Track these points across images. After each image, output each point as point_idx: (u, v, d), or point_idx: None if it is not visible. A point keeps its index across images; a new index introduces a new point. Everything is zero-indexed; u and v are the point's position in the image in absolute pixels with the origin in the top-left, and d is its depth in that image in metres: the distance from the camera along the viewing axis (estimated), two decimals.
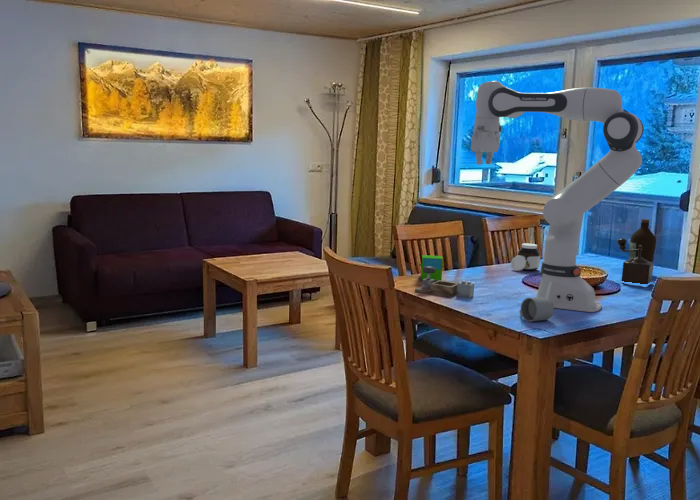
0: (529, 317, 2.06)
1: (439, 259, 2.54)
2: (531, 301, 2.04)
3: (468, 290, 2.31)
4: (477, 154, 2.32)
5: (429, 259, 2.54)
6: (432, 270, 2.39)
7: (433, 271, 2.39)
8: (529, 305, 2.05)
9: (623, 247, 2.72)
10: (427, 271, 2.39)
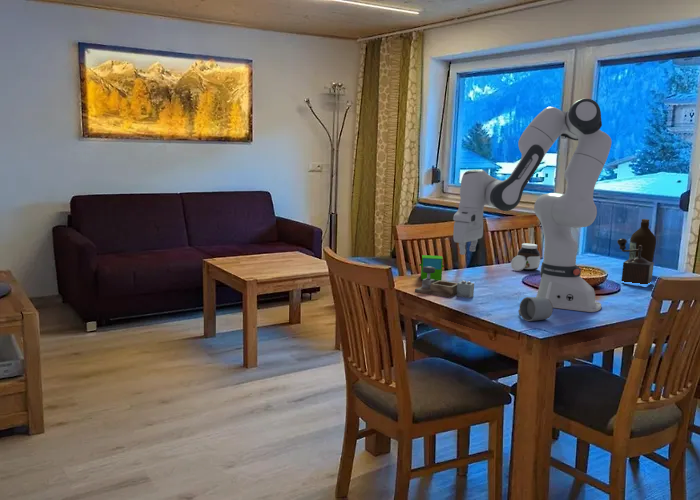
0: (528, 317, 2.07)
1: (439, 259, 2.54)
2: (530, 301, 2.05)
3: (468, 290, 2.31)
4: None
5: (429, 259, 2.54)
6: (432, 270, 2.39)
7: (433, 271, 2.39)
8: (528, 305, 2.06)
9: (623, 247, 2.72)
10: (427, 271, 2.39)
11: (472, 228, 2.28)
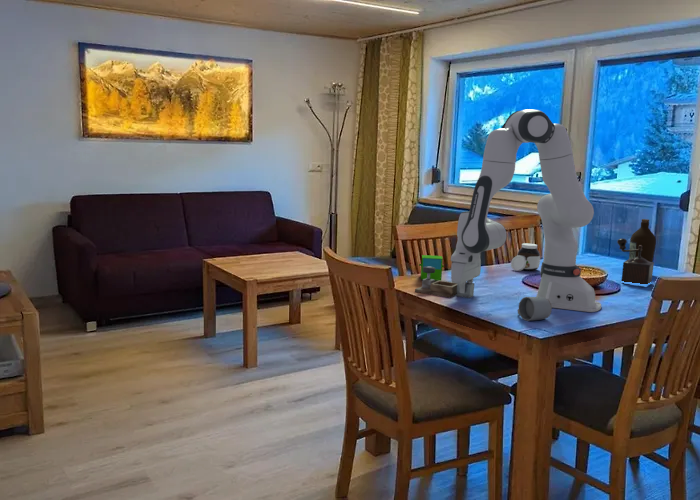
0: (527, 316, 2.07)
1: (439, 259, 2.54)
2: (529, 300, 2.05)
3: (468, 290, 2.31)
4: None
5: (429, 259, 2.54)
6: (432, 270, 2.39)
7: (433, 271, 2.39)
8: (527, 304, 2.06)
9: (623, 247, 2.72)
10: (427, 271, 2.39)
11: (469, 267, 2.30)
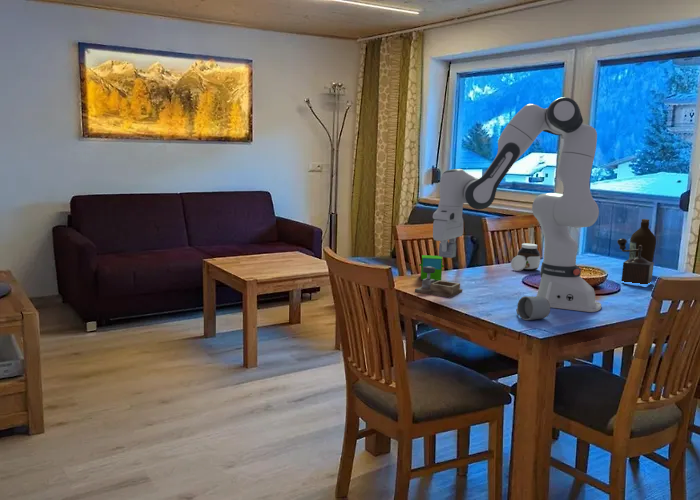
0: (525, 316, 2.07)
1: (439, 259, 2.54)
2: (527, 300, 2.06)
3: (450, 249, 2.33)
4: None
5: (429, 259, 2.54)
6: (432, 270, 2.39)
7: (433, 271, 2.39)
8: (525, 304, 2.07)
9: (623, 247, 2.72)
10: (427, 271, 2.39)
11: (451, 226, 2.32)
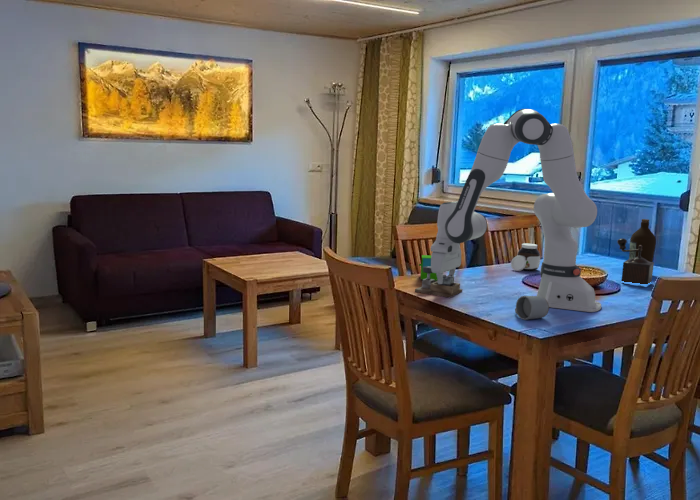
0: (524, 315, 2.08)
1: None
2: (526, 299, 2.06)
3: (448, 284, 2.35)
4: None
5: (429, 259, 2.54)
6: None
7: None
8: (524, 303, 2.07)
9: (623, 247, 2.72)
10: (427, 271, 2.39)
11: (449, 258, 2.34)
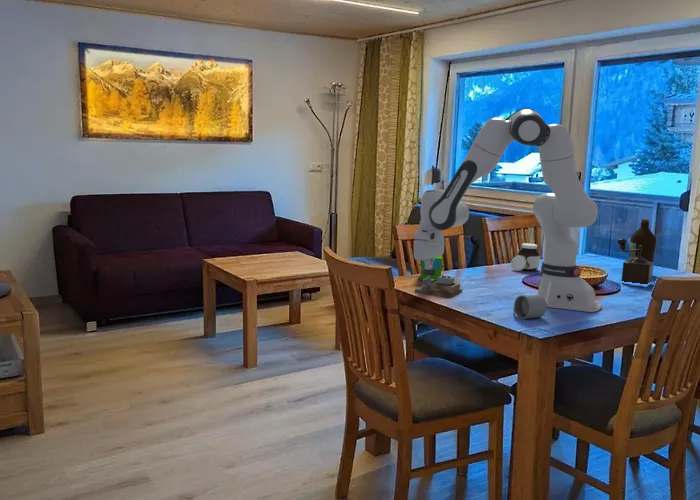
0: (522, 314, 2.09)
1: (438, 259, 2.54)
2: (524, 299, 2.07)
3: (448, 284, 2.35)
4: None
5: None
6: (432, 272, 2.39)
7: (433, 273, 2.39)
8: (522, 303, 2.08)
9: (623, 247, 2.72)
10: (427, 273, 2.39)
11: (432, 245, 2.37)
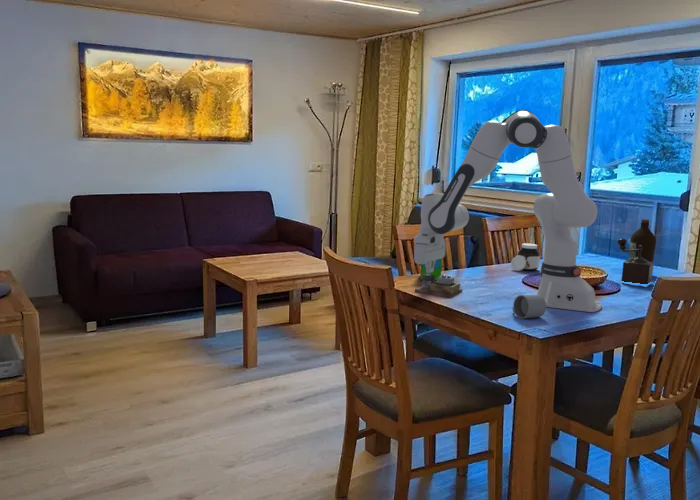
0: (521, 314, 2.09)
1: (438, 259, 2.54)
2: (523, 298, 2.07)
3: (448, 284, 2.35)
4: None
5: None
6: (432, 278, 2.39)
7: (433, 279, 2.40)
8: (521, 302, 2.08)
9: (623, 247, 2.72)
10: (427, 279, 2.39)
11: (432, 249, 2.38)
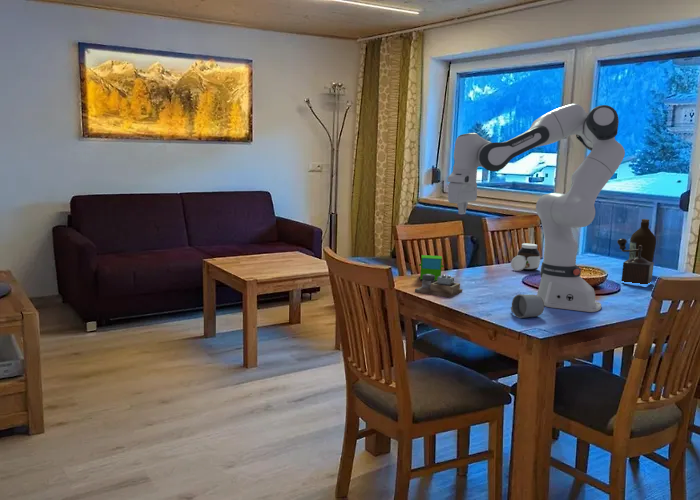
0: (520, 314, 2.10)
1: (438, 259, 2.54)
2: (522, 298, 2.08)
3: (448, 284, 2.35)
4: None
5: (428, 259, 2.54)
6: (432, 278, 2.39)
7: (433, 279, 2.40)
8: (520, 302, 2.09)
9: (623, 247, 2.72)
10: (427, 279, 2.39)
11: (465, 189, 2.36)
